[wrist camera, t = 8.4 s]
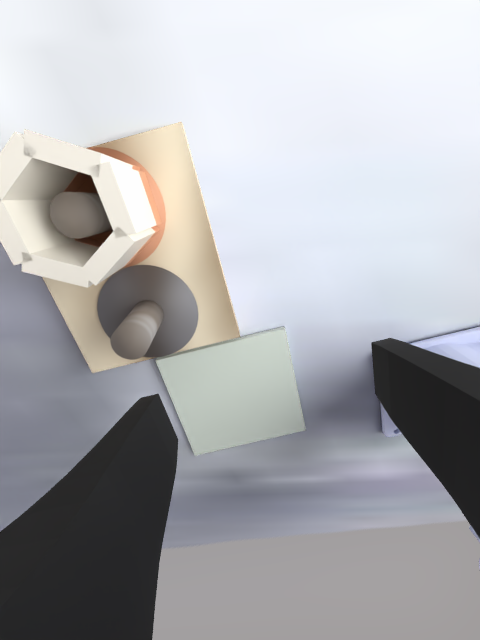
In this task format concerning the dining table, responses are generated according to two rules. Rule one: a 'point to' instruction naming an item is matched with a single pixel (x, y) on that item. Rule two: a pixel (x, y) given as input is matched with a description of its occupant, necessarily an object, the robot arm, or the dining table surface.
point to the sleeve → (67, 176)
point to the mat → (234, 391)
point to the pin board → (147, 263)
